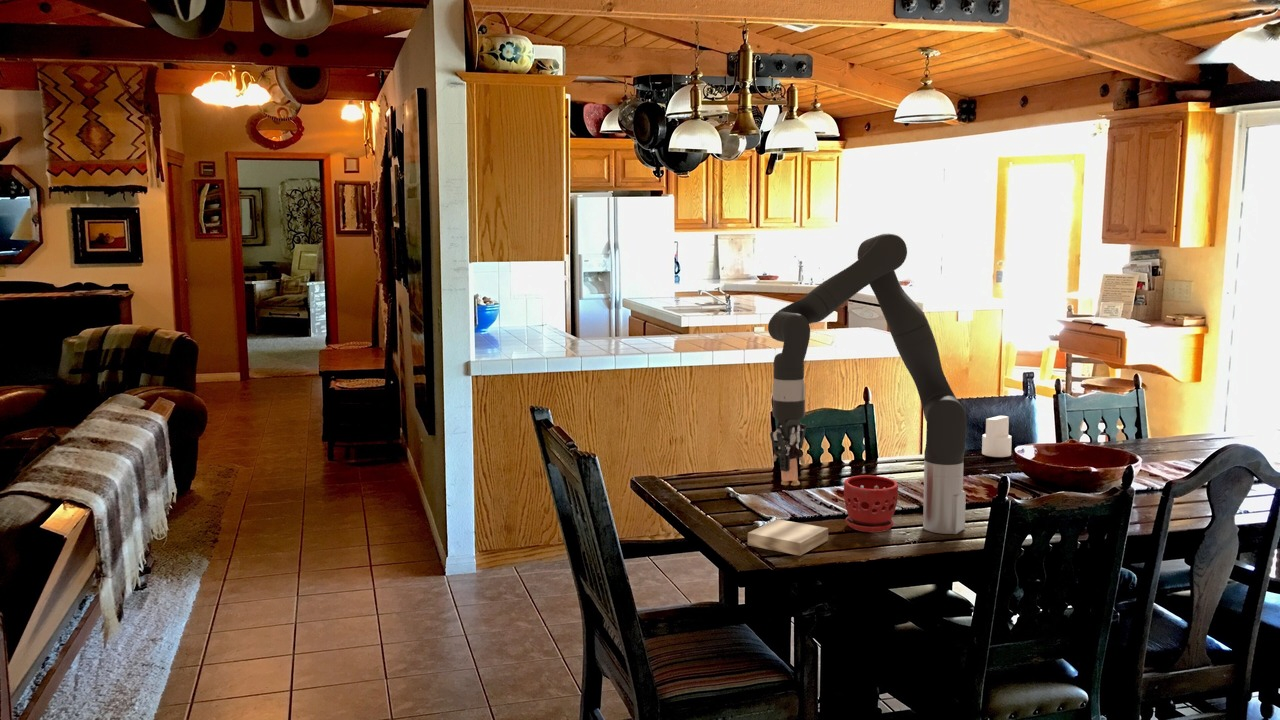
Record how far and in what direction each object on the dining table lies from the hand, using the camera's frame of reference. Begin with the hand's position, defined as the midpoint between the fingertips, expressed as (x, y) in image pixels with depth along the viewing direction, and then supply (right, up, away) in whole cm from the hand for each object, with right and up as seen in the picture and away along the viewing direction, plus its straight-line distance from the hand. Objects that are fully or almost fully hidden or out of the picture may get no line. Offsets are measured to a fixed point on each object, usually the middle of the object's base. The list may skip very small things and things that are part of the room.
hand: (788, 469), depth 242 cm
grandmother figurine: (0, -4, 0) cm, 4 cm away
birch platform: (0, -18, +2) cm, 18 cm away
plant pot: (+22, -16, +13) cm, 31 cm away
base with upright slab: (+81, -5, +92) cm, 123 cm away
